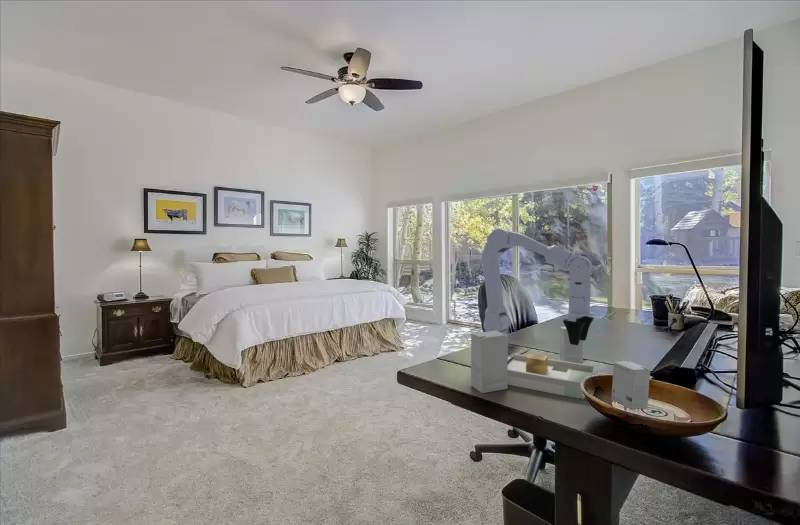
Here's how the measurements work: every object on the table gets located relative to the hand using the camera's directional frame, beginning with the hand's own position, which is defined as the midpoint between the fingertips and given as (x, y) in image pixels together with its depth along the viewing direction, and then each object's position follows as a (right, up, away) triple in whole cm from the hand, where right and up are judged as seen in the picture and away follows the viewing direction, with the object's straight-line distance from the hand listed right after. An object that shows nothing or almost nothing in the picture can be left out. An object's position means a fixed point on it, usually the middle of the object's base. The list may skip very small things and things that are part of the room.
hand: (577, 342), depth 110 cm
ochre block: (-14, -7, -4) cm, 16 cm away
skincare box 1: (-29, -10, -11) cm, 33 cm away
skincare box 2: (+3, -10, +11) cm, 15 cm away
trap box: (-11, -10, -6) cm, 16 cm away
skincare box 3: (-3, -11, -29) cm, 31 cm away
